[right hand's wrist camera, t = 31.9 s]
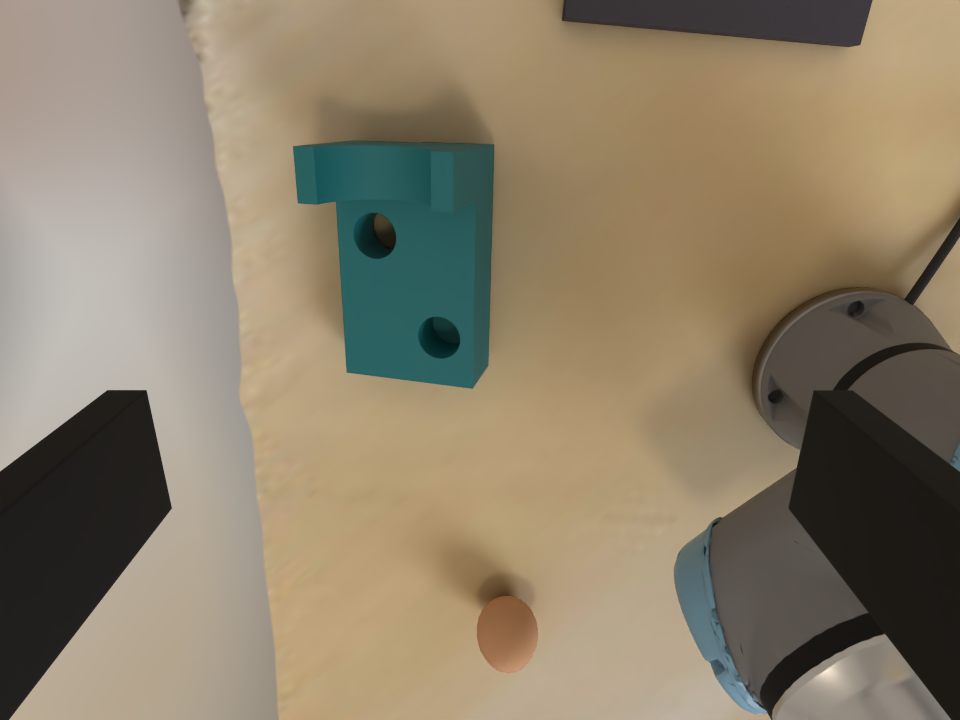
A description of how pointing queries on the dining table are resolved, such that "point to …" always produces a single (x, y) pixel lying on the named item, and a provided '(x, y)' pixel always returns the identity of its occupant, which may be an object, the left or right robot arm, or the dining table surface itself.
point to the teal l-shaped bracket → (410, 253)
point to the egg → (507, 633)
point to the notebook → (734, 18)
